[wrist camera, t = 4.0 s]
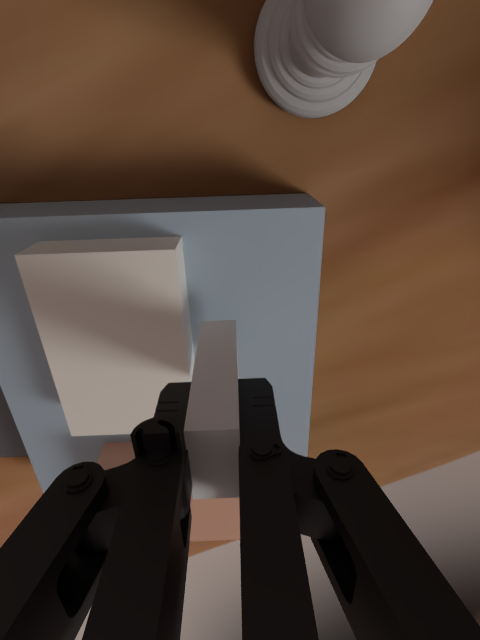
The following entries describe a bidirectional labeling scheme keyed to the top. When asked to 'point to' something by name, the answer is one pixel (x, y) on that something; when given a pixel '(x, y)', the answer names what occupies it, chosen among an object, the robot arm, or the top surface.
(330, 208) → the top surface
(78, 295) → the beige rectangular block
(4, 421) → the mat
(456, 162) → the top surface
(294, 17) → the chess piece
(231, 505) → the terracotta card
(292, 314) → the pale blue flat slab
